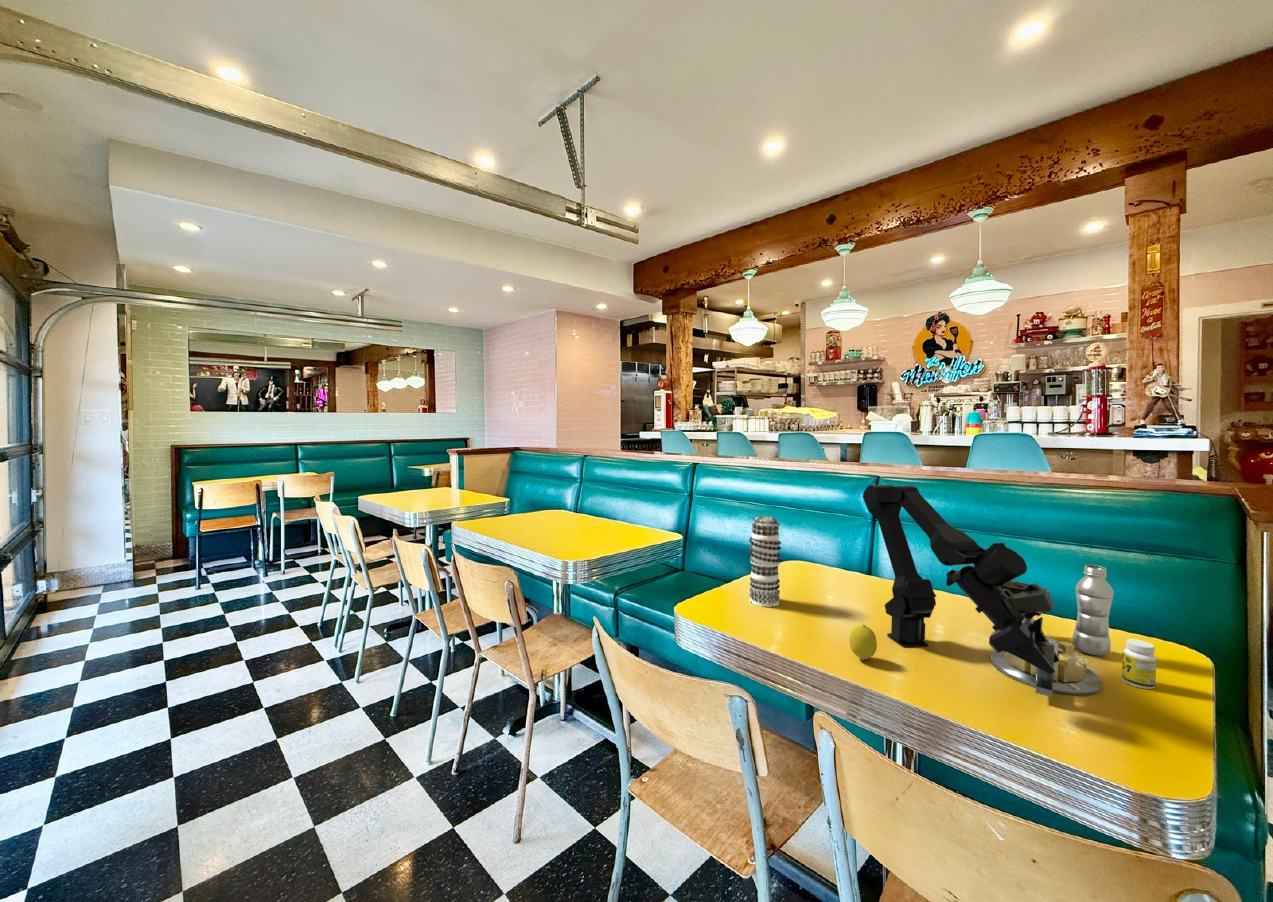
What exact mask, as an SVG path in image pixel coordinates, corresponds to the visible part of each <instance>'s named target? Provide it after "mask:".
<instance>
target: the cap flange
mask: <svg viewBox="0 0 1273 902" xmlns="http://www.w3.org/2000/svg"><path fill="white" fill-rule="evenodd" d="M1046 638H1047V640H1048V641H1049V643H1051V644H1053V645H1054V646H1055V647H1054V651H1055V653H1056V655H1057V656H1058V642H1059V641H1058V640H1056V639H1054V638H1052V637H1049V636H1046ZM990 663H991V665H992V666H993V667H994V668H995V669H996V670H997V671H999V672H1000V673H1001V674H1003V675H1005V676H1006V677H1008V678H1010V679H1013V680H1014V681H1017V682H1018V683H1021V684H1024V685H1026V686H1029V687H1032V688H1035V689H1036V675H1032V674H1030V672H1031V671H1029V672H1024V671H1022V670H1020V669H1018V668H1017V667H1015V666H1013V665H1011V664H1010V663H1008V662H1007V660H1005V652H1004V651H1002V652H1000V653H997V652H996V651H995V650H994V651H992V653H991V655H990ZM1102 686H1103V680H1102V679H1101V677H1100V676H1098V674H1097V673H1096V672H1095V671H1092V670H1091V669H1089V668H1088V667H1086V679H1083V681H1069V682H1064V681H1062V680H1060V679H1058V680H1057V681H1056V680H1053V693H1055V694H1060V695H1061V694H1062V695H1066V696H1067V695H1070V696H1077V697H1078V696H1092V695H1097V694H1099V693H1100V692H1102V689H1103V687H1102Z"/></svg>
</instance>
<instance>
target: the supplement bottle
mask: <svg viewBox="0 0 1273 902" xmlns="http://www.w3.org/2000/svg"><path fill="white" fill-rule="evenodd" d="M1155 647H1156V646H1155V645H1154V644H1153V643H1150V642H1147V641H1146V640H1145V641H1144V640H1141V639H1136V638H1127V639H1126V643H1125V648H1124V649H1123V652H1122V672H1121V679H1122V681H1123V682H1125V683H1127V684H1128V685H1130V686H1133V687H1136V688H1140V689H1145V690H1152V689H1155V688H1156V677H1157V676H1156V675H1157V661H1158V660H1157V659H1158V658H1157V656H1156V655H1155V652H1156V651H1155V650H1156V649H1155Z"/></svg>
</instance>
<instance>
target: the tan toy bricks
mask: <svg viewBox="0 0 1273 902" xmlns="http://www.w3.org/2000/svg"><path fill="white" fill-rule="evenodd" d="M1054 647H1055V646H1054V645H1053V644H1051V643H1048V642H1042V641H1040V642H1038V648H1039V649H1040V651H1041V652H1042V653H1043V655H1044V656H1045V657H1046V659H1047V660H1048V661H1049V663H1050V664H1051V665H1052V667H1053V668H1054V670H1055V672H1054V673H1052V674H1048V673H1047V672H1045V671H1043V670H1041V669H1039V668H1037V667H1036V666H1034V665H1032V664H1030V663H1028V662H1026V661H1024V660H1022V659H1020V658H1018V657H1016V656H1014V655H1012V654H1010V653H1008V652H1005V660H1007V662H1008V663H1010V664H1011V665H1013V666H1015V667H1017V668H1018V669H1020V670H1022V671H1024V672H1029V671H1031V672H1030V674H1032V675H1036V688H1035V693H1036V694H1039V695H1043V696H1047V697H1050V698H1053V693H1054V692H1053V680H1056V681H1057V680H1058V679H1060V680H1062V681H1064V682H1069V681H1083V679H1086V668H1087V660H1086V656H1083V654H1082V653H1079V652H1077V651H1075V645H1074V644H1072V643H1070V642H1068V641H1058V658H1059V661H1058V662H1055V663H1054Z"/></svg>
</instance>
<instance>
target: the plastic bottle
mask: <svg viewBox="0 0 1273 902" xmlns="http://www.w3.org/2000/svg"><path fill="white" fill-rule="evenodd" d="M1083 569H1084V570H1083V574H1084V576H1083V577H1082V578H1081V579H1079V581H1078V582H1077V583H1076V585H1075V596H1076V605H1077V607H1076V608H1077V609H1076V610H1077V614H1076V615H1077V617H1076V622H1075V628H1074V631H1073V635H1072V643H1073V644H1072V645H1074V648H1075V649H1077V650H1078V651H1080V652H1082V653H1085V654H1088V655H1093V656H1099V657H1103V656H1104V657H1105V656H1107V655H1108V654H1109V653H1110V651H1111V648H1112V647H1111V646H1112V644H1111V637H1110V627H1109V625H1110V624H1109V620H1110V619H1109V618H1110V617H1109V616H1110V611H1111V607H1112V603H1113V598H1114V593H1115V592H1114V590H1113V588H1112V586H1111V585H1110V584H1109V583H1108V581H1107V580H1106V578H1107V576H1108V575H1107V568H1106V567H1103V566H1101V565H1095V564H1085V565H1084V568H1083Z"/></svg>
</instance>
